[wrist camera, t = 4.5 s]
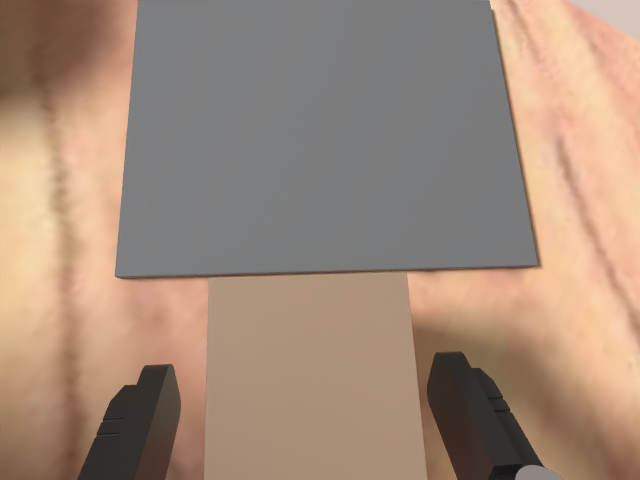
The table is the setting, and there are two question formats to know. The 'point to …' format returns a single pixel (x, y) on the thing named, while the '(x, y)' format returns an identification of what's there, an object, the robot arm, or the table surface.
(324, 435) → the block
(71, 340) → the table surface
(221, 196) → the mat
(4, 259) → the table surface
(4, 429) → the table surface
